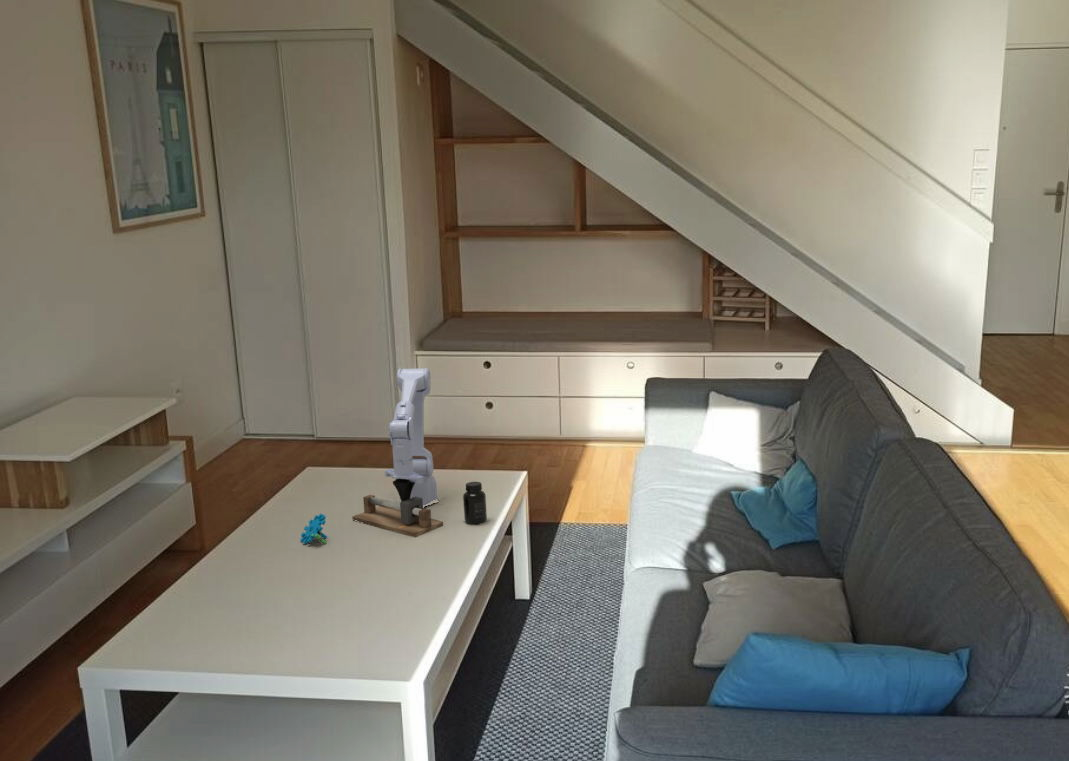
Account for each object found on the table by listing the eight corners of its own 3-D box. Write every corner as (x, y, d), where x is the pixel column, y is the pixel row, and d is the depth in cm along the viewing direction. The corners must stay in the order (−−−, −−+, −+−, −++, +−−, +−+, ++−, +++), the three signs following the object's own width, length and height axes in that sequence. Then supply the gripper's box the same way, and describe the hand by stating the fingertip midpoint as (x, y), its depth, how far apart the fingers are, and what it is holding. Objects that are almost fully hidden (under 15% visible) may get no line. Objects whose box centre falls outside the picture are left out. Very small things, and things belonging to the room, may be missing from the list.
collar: (416, 516, 305) (415, 496, 303) (423, 518, 303) (422, 498, 301) (401, 522, 300) (400, 502, 298) (408, 524, 298) (407, 504, 297)
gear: (296, 531, 296) (319, 506, 296) (312, 542, 299) (334, 517, 299) (301, 549, 286) (325, 523, 286) (317, 559, 289) (340, 534, 289)
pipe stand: (381, 509, 318) (379, 490, 317) (443, 525, 302) (442, 504, 301) (352, 520, 309) (351, 500, 308) (415, 537, 293) (413, 516, 292)
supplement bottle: (488, 517, 307) (486, 480, 305) (485, 525, 301) (483, 487, 298) (466, 517, 308) (464, 480, 306) (462, 525, 302) (460, 487, 299)
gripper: (376, 458, 300) (379, 502, 303) (410, 466, 291) (413, 510, 294) (393, 453, 306) (396, 495, 308) (427, 460, 297) (430, 503, 300)
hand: (405, 502), depth 302 cm, fingers closed
